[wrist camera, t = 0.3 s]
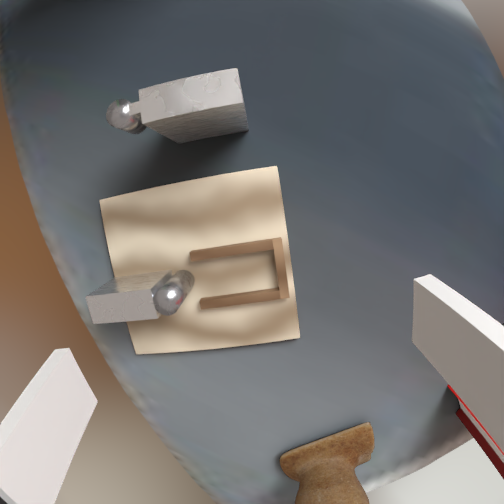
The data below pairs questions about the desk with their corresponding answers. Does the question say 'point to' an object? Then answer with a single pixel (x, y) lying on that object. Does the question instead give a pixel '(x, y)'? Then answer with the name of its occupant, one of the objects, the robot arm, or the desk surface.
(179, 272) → the fixed leaf
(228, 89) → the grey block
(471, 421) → the book
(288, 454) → the brown flared upright piece
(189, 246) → the hinge base
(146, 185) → the desk surface
